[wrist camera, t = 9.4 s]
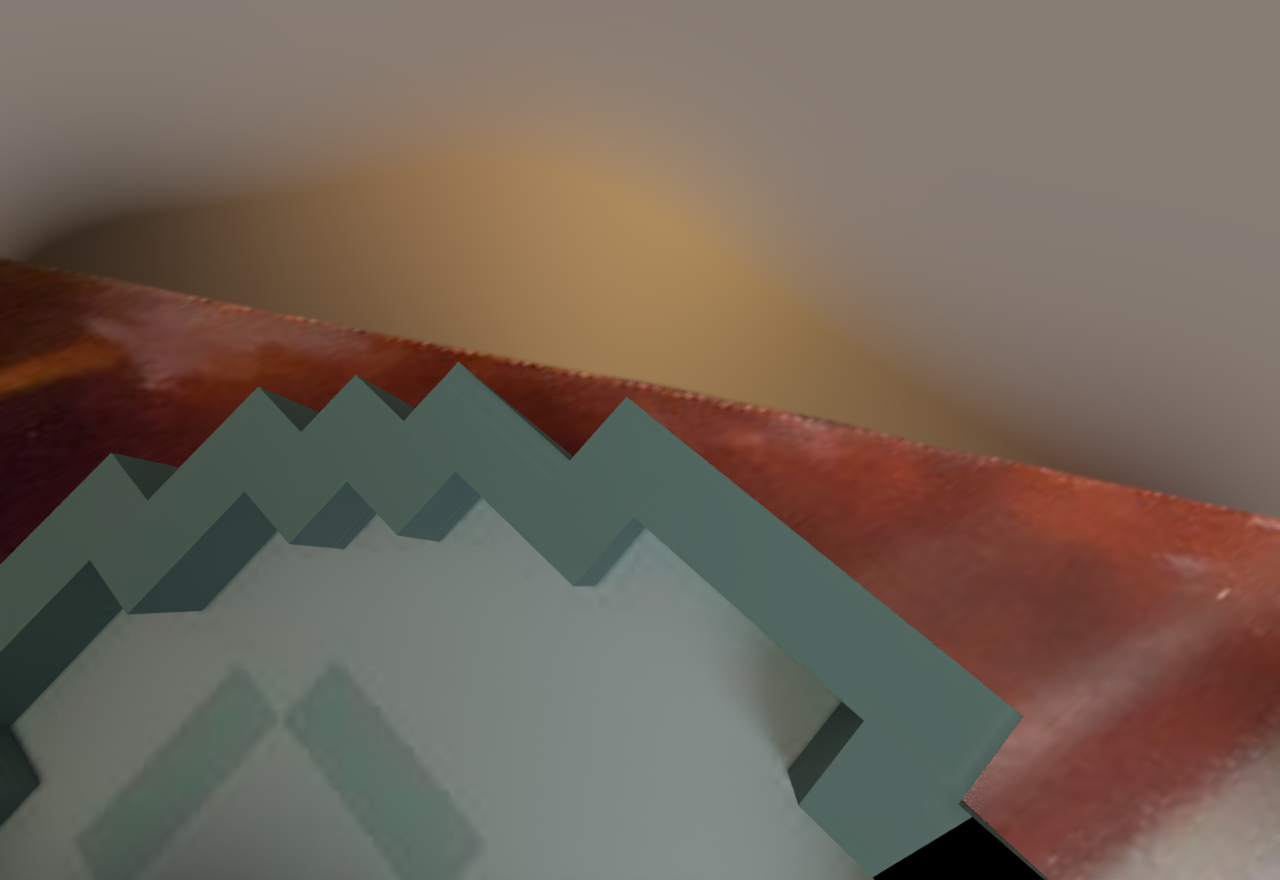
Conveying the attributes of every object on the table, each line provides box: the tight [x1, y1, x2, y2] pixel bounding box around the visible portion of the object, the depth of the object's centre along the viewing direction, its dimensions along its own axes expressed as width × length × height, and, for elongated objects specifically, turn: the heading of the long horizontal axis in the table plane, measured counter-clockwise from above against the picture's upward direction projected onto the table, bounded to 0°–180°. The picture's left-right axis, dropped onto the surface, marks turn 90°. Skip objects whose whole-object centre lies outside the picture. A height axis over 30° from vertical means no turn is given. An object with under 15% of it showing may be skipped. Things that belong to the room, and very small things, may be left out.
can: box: [0, 362, 1048, 880], centre depth 9 cm, size 6×6×15 cm
